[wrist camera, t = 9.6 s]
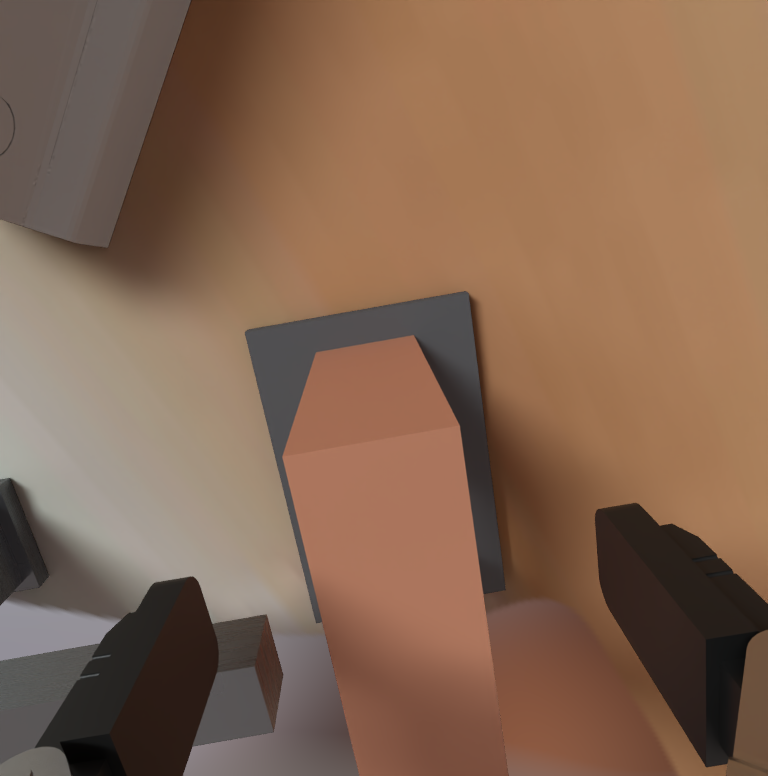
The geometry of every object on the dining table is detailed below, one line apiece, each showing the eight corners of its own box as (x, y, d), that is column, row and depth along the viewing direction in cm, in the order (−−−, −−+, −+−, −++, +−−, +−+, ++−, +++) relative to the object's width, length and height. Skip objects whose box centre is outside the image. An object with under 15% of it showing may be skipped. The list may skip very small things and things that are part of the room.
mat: (465, 291, 23) (468, 292, 22) (502, 582, 27) (505, 590, 26) (247, 329, 23) (244, 332, 22) (317, 614, 27) (316, 623, 26)
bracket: (295, 427, 24) (222, 667, 11) (318, 528, 25) (278, 846, 12) (-105, 498, 24) (-644, 818, 11) (-59, 595, 25) (-490, 979, 12)
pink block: (413, 335, 22) (459, 425, 12) (450, 567, 26) (510, 790, 16) (315, 352, 22) (282, 456, 12) (364, 582, 26) (369, 815, 16)
